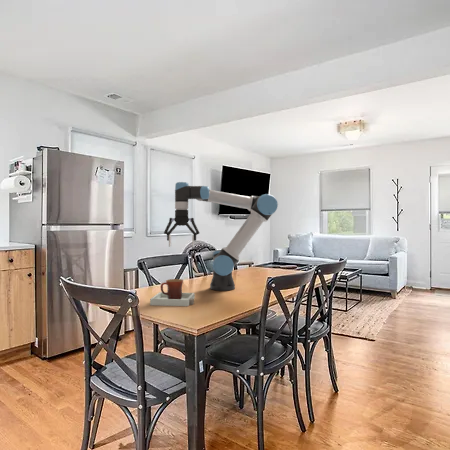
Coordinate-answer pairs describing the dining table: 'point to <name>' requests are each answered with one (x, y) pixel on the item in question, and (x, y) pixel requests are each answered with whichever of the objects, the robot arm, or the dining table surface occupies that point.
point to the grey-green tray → (173, 300)
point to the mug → (173, 288)
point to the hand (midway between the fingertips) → (181, 246)
